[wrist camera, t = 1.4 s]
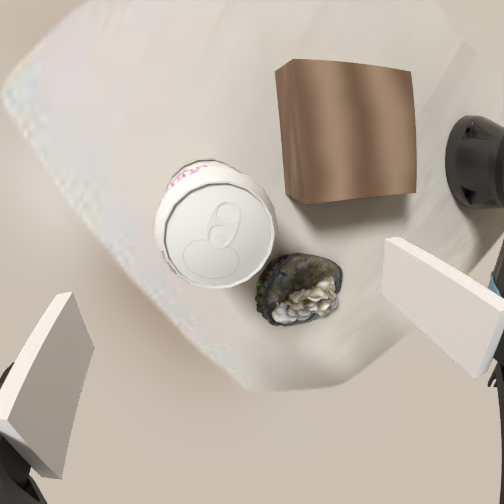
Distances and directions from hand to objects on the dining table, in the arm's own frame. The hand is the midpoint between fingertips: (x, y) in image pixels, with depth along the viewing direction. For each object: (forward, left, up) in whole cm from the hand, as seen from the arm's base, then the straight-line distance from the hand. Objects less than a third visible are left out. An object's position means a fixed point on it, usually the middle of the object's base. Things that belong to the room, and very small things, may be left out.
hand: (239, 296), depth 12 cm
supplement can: (0, 0, -23) cm, 23 cm away
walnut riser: (-16, -6, -23) cm, 28 cm away
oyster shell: (-10, +13, -23) cm, 29 cm away
